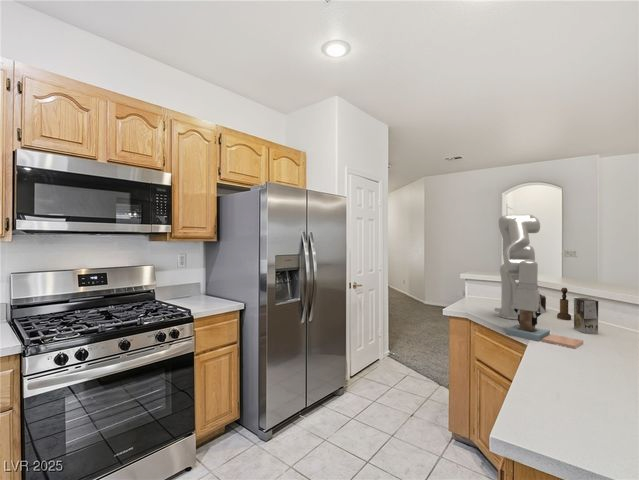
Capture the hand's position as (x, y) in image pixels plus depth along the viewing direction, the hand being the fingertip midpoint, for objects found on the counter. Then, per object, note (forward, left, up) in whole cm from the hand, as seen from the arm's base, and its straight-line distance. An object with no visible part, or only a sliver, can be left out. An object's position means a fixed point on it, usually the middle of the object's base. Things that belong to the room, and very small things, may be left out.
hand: (527, 323), depth 156 cm
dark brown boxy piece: (-18, +63, -5) cm, 65 cm away
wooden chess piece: (0, +53, -5) cm, 53 cm away
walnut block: (0, 0, -4) cm, 4 cm away
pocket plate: (0, 0, -5) cm, 5 cm away
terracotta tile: (+14, 0, -5) cm, 15 cm away
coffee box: (+15, +31, -5) cm, 35 cm away
